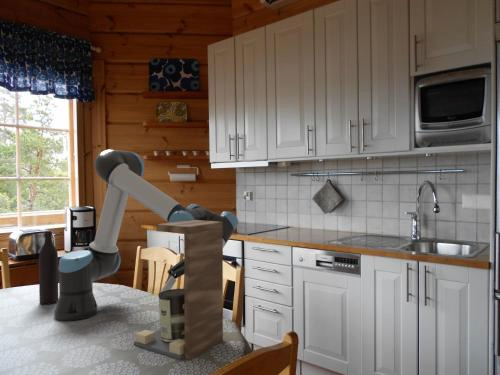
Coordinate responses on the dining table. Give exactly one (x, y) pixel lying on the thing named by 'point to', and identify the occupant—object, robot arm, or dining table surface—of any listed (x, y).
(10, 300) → the dining table surface
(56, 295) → the wine bottle
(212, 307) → the walnut shelf
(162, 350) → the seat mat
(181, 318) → the coffee can
